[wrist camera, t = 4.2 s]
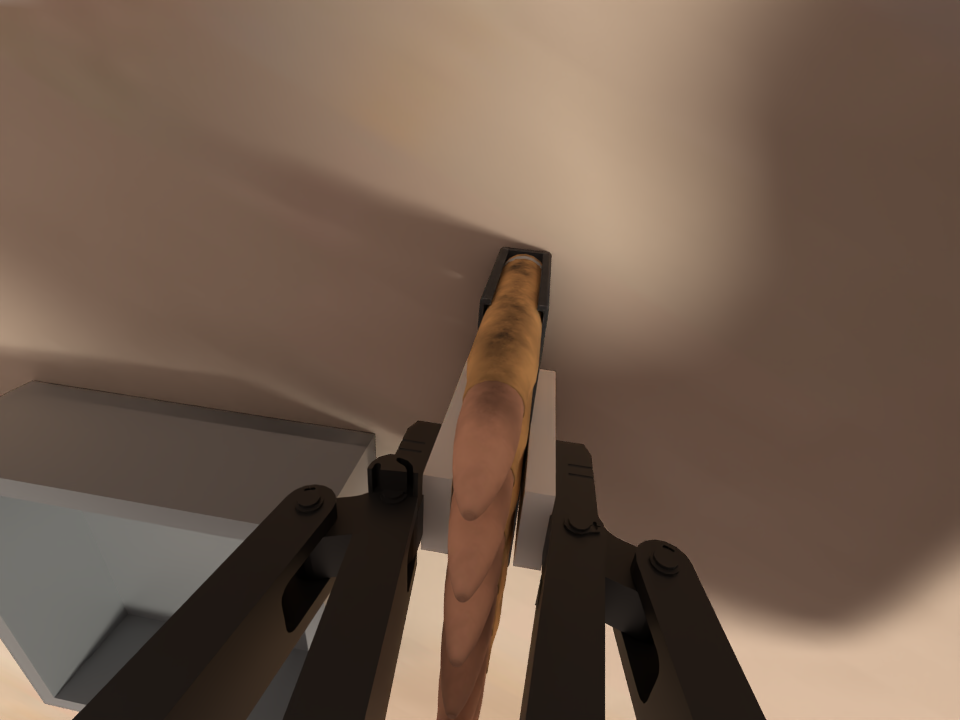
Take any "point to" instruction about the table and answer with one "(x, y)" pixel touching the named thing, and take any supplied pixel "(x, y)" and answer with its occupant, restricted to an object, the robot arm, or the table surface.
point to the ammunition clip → (490, 470)
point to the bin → (138, 522)
